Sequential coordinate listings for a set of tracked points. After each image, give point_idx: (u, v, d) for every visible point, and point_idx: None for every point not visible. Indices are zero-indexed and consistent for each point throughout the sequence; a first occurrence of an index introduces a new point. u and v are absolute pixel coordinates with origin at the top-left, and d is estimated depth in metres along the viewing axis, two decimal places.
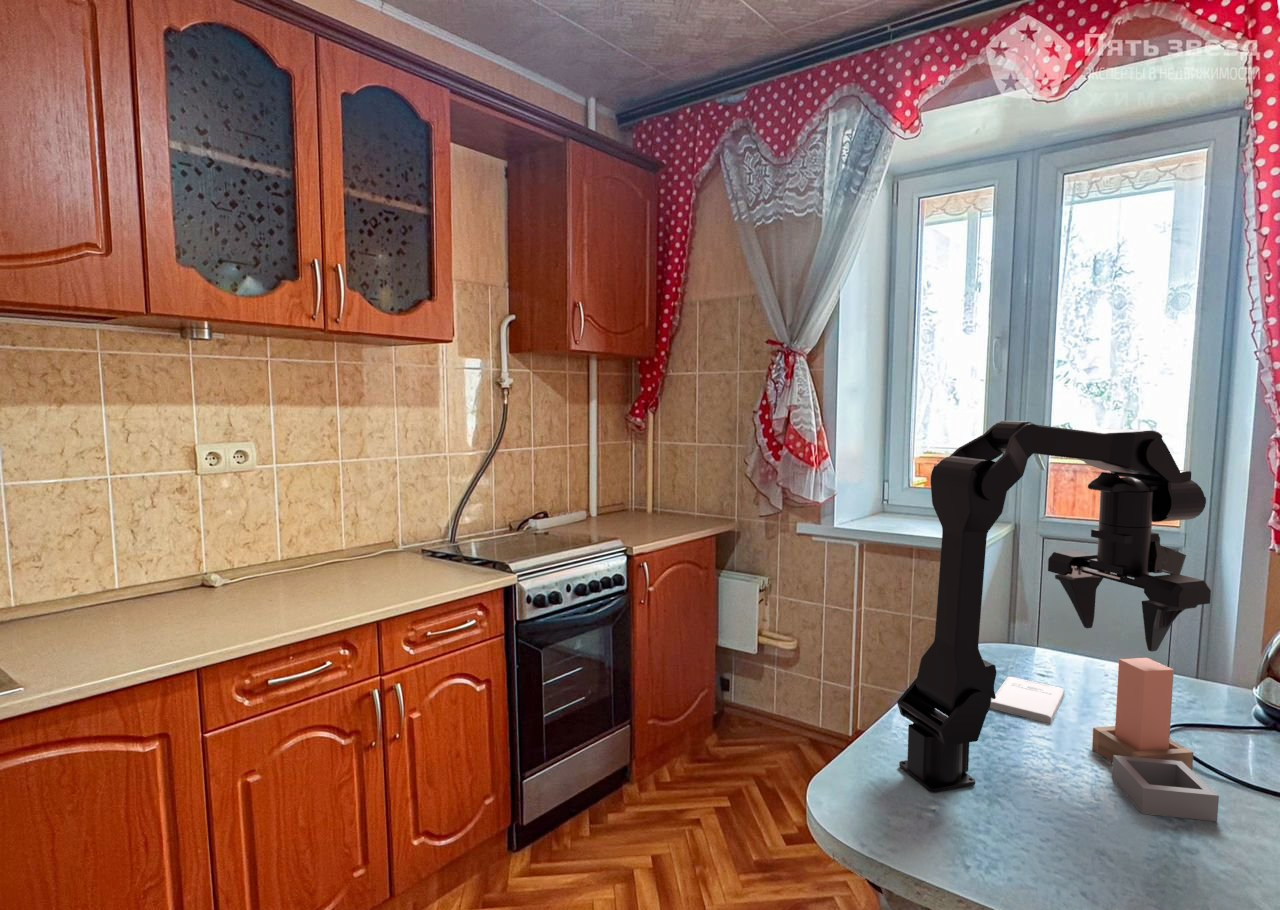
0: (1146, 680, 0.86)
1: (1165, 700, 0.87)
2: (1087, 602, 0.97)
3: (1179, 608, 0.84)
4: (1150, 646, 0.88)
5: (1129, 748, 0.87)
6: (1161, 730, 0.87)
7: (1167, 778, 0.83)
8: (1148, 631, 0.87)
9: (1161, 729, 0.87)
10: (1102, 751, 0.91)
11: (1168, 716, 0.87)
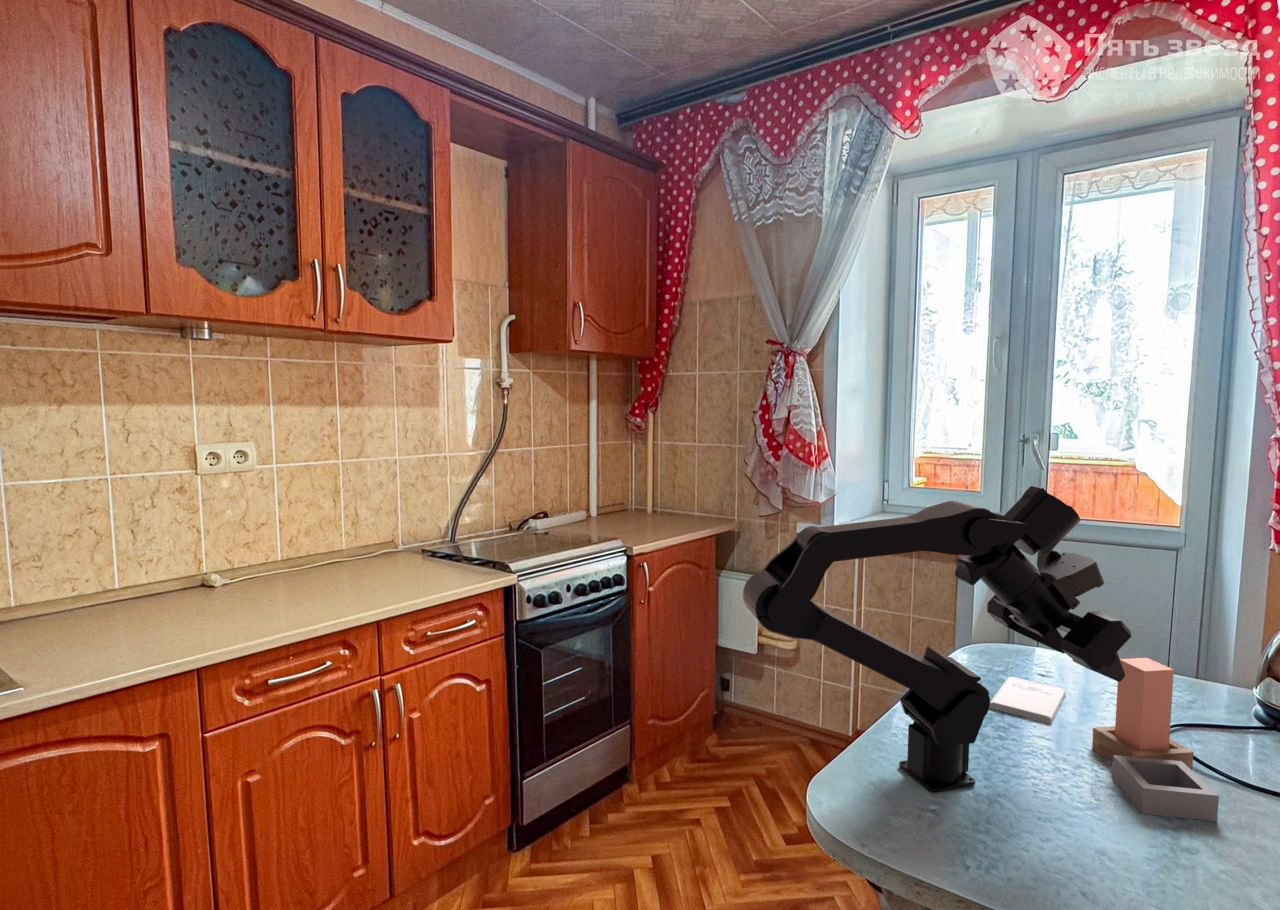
0: (1146, 680, 0.86)
1: (1165, 700, 0.87)
2: (1047, 633, 0.91)
3: None
4: None
5: (1129, 748, 0.87)
6: (1161, 730, 0.87)
7: (1167, 778, 0.83)
8: None
9: (1161, 729, 0.87)
10: (1102, 751, 0.91)
11: (1168, 716, 0.87)
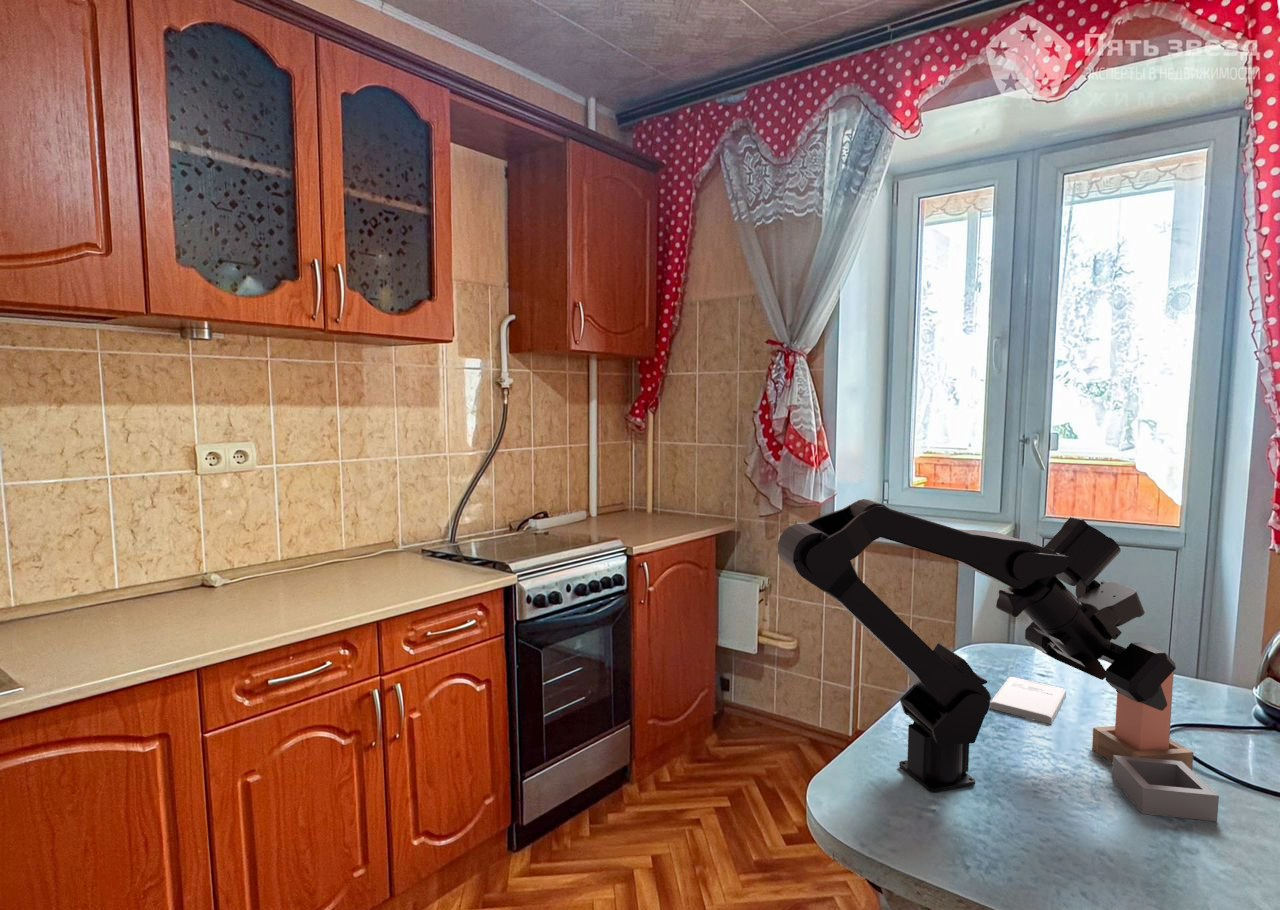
0: None
1: None
2: None
3: None
4: None
5: (1129, 748, 0.87)
6: (1161, 730, 0.87)
7: (1167, 778, 0.83)
8: None
9: (1161, 729, 0.87)
10: (1102, 751, 0.91)
11: (1168, 716, 0.87)
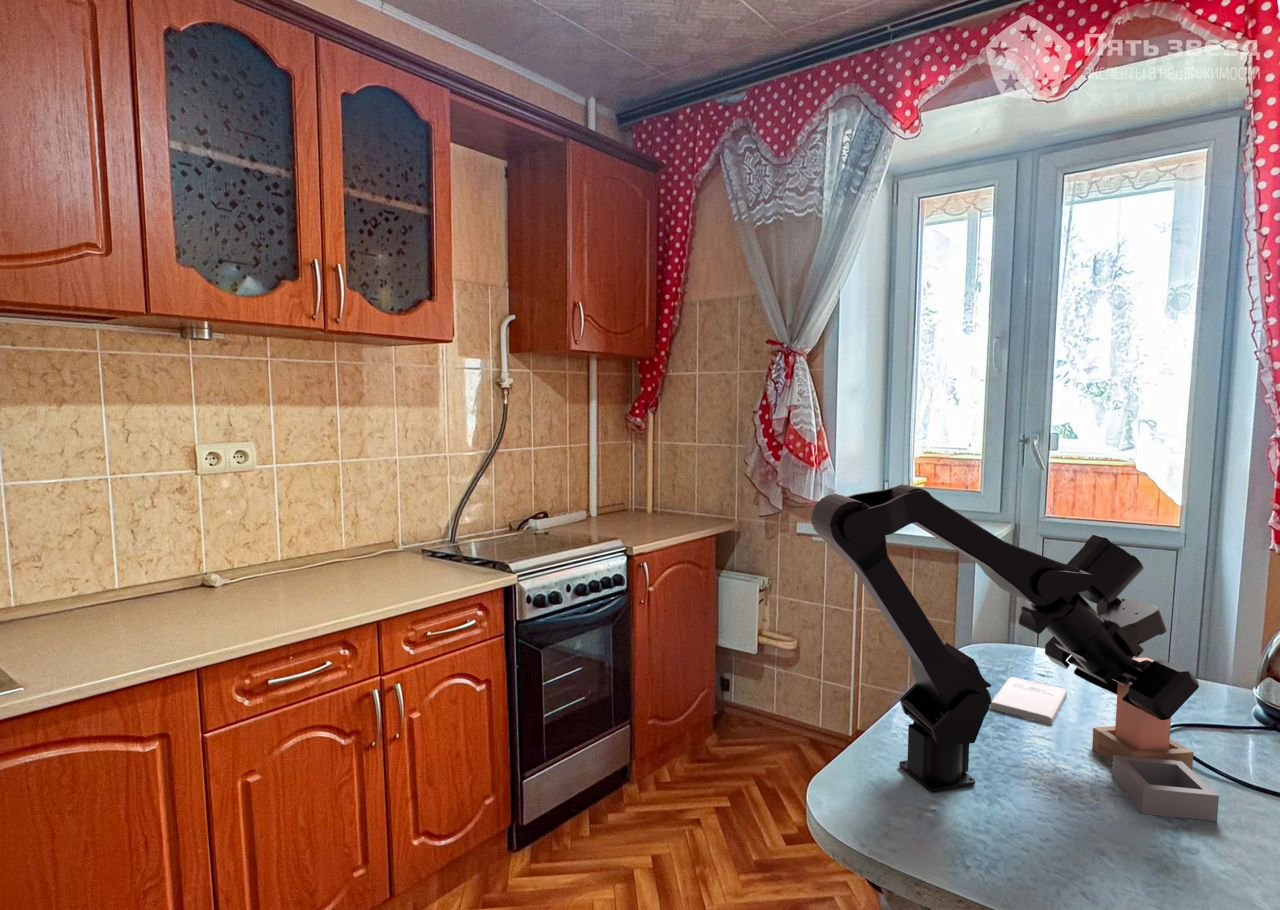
0: None
1: None
2: None
3: None
4: None
5: (1129, 748, 0.87)
6: (1161, 730, 0.87)
7: (1167, 778, 0.83)
8: None
9: (1161, 729, 0.87)
10: (1102, 751, 0.91)
11: None
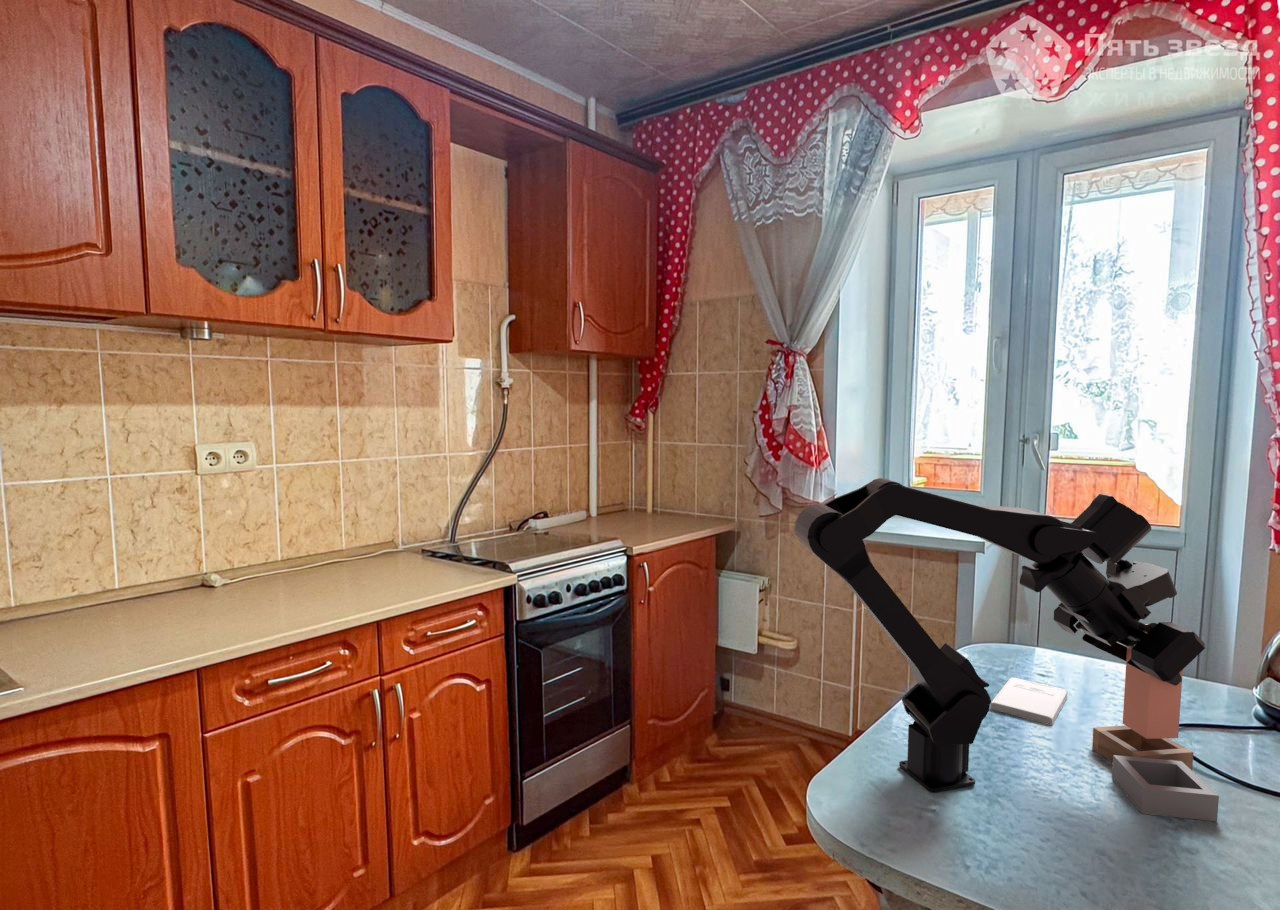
0: None
1: None
2: None
3: None
4: (1171, 683, 0.83)
5: (1129, 748, 0.87)
6: (1171, 697, 0.84)
7: (1167, 778, 0.83)
8: None
9: (1171, 696, 0.84)
10: (1102, 751, 0.91)
11: (1179, 683, 0.84)
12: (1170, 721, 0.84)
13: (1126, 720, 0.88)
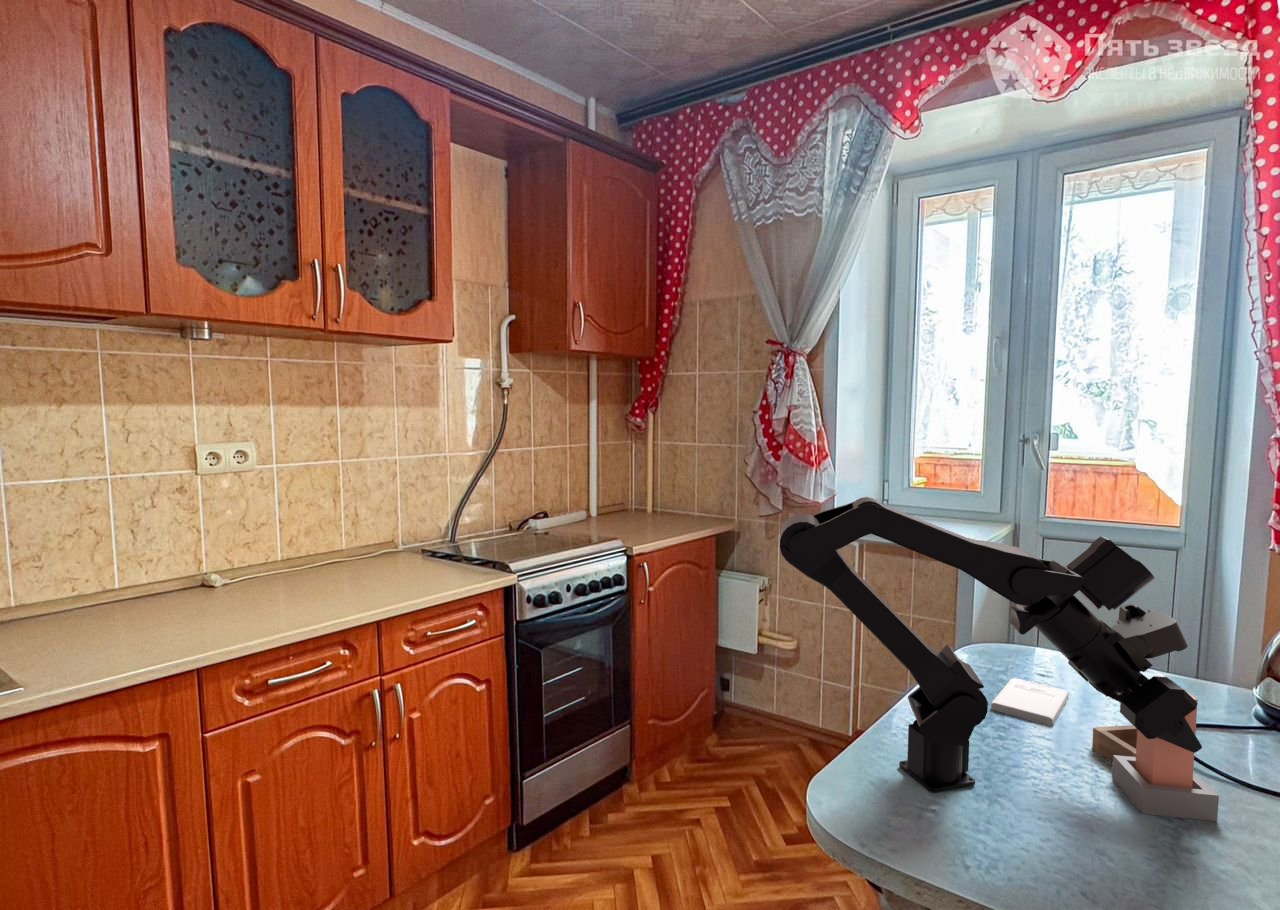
0: None
1: None
2: None
3: None
4: (1188, 750, 0.76)
5: (1129, 748, 0.87)
6: (1181, 765, 0.79)
7: None
8: None
9: (1181, 764, 0.79)
10: (1102, 751, 0.91)
11: None
12: None
13: None
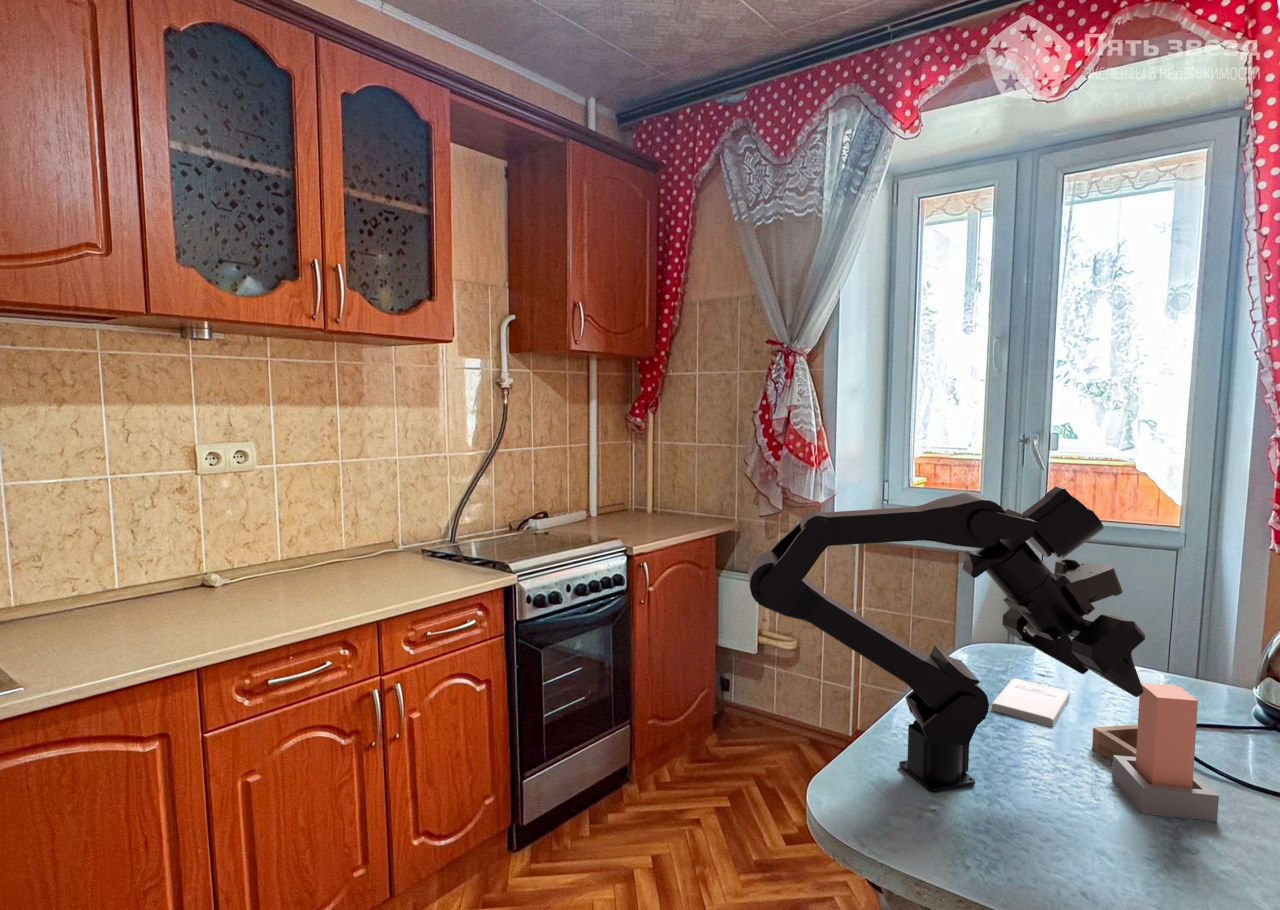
0: (1160, 708, 0.78)
1: (1186, 733, 0.78)
2: (1065, 650, 0.87)
3: None
4: (1131, 694, 0.78)
5: (1129, 748, 0.87)
6: (1181, 766, 0.79)
7: None
8: None
9: (1181, 765, 0.79)
10: (1102, 751, 0.91)
11: (1191, 751, 0.78)
12: None
13: None
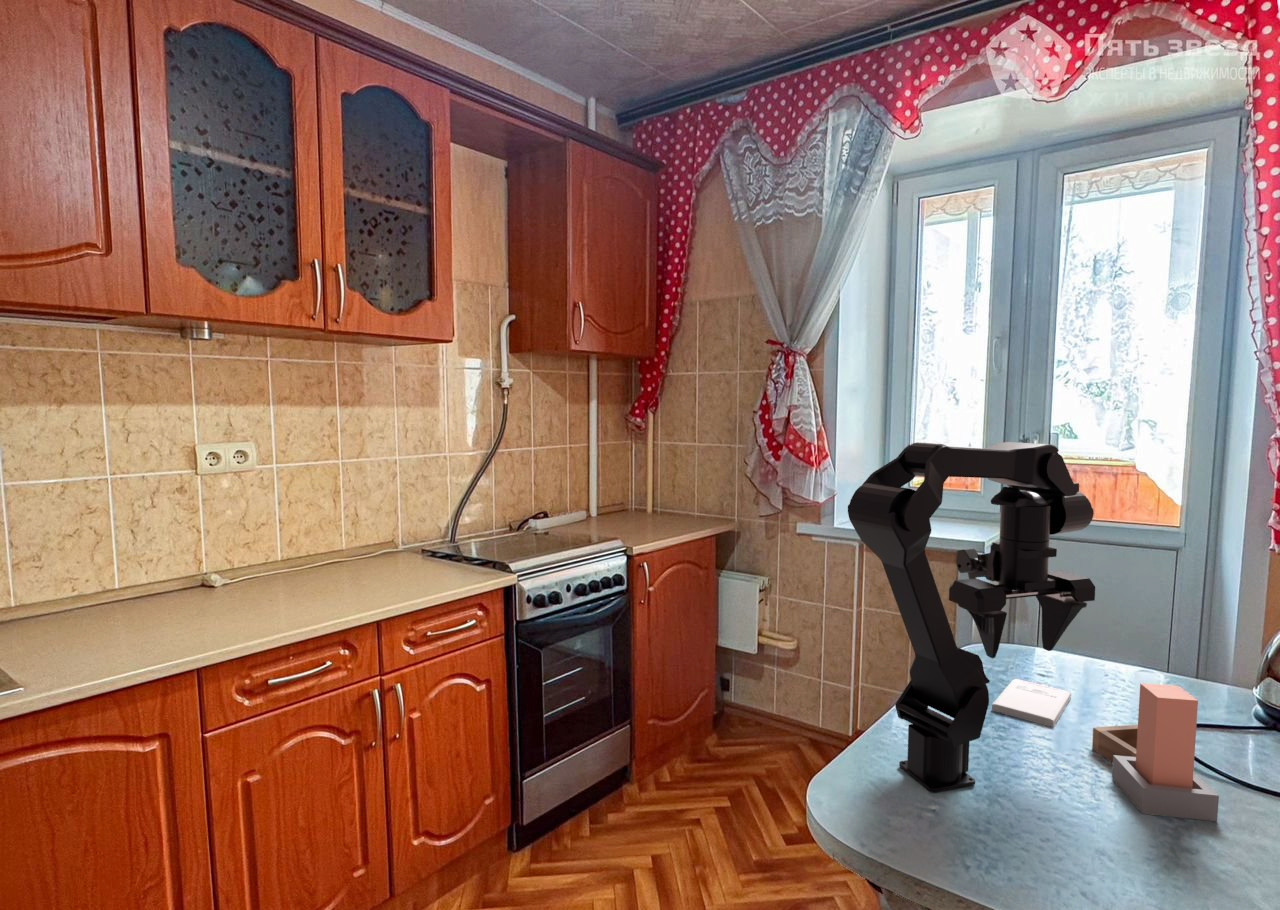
0: (1160, 708, 0.78)
1: (1186, 733, 0.78)
2: None
3: None
4: None
5: (1129, 748, 0.87)
6: (1181, 766, 0.79)
7: None
8: (1061, 632, 0.92)
9: (1181, 765, 0.79)
10: (1102, 751, 0.91)
11: (1191, 752, 0.78)
12: None
13: None
